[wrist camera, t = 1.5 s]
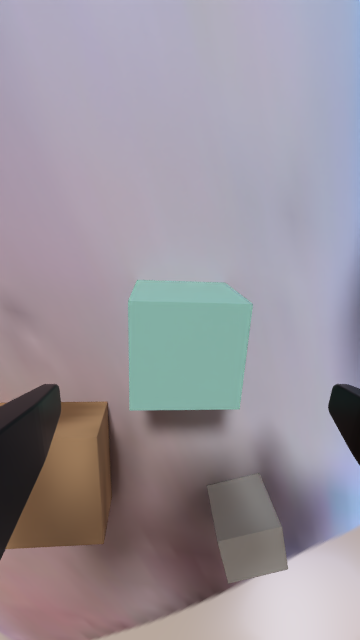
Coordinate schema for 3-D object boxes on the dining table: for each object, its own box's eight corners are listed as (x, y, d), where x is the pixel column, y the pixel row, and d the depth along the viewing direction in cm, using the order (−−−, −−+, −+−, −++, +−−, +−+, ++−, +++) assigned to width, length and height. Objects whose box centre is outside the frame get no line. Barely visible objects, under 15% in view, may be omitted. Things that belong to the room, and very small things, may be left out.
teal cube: (224, 282, 16) (252, 303, 11) (217, 361, 18) (239, 409, 13) (137, 279, 16) (127, 301, 11) (137, 360, 17) (129, 410, 12)
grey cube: (258, 472, 21) (281, 526, 17) (265, 510, 22) (288, 569, 18) (206, 484, 21) (217, 541, 17) (215, 522, 22) (228, 583, 18)
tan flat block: (108, 398, 18) (96, 437, 15) (112, 493, 20) (103, 543, 17) (-23, 400, 17) (-65, 440, 14) (-2, 497, 20) (-34, 551, 16)
